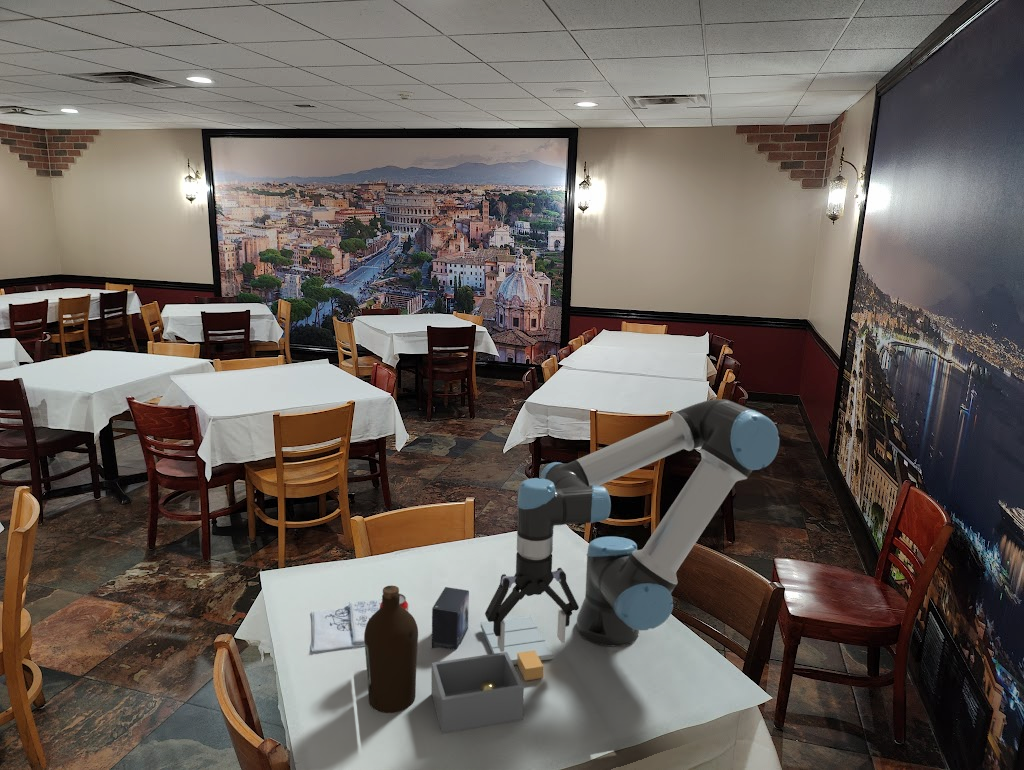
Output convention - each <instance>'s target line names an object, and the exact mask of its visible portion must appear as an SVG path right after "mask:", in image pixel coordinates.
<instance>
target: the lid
mask: <svg viewBox="0 0 1024 770" xmlns="http://www.w3.org/2000/svg"><path fill="white" fill-rule="evenodd" d="M503 621H504V623H505V640H504V651H503V652H507V653H508V655H509V657H510V659H511V661H512V663H513V665H517V667H518V668H519V671H520V673H521V675H522V677H523V679H524V681H525V682H526V681H532V680H537V679H538V680H539V679H544V664H543V663H542V661H548V660H552V659H553V657H554V656H553V655H554V654H553V652H552V650H551V649H550V647H549V644H548V643H547V642H546V639H545V638H544V636H543V635H542V633H541V631H540V629H539V627H538V626H537V625H536V622H535V621H534V619H533V617H532V616H531V615H525V616H517V617H509V618H504V619H503ZM493 627H494V622H493V621H492V622H489V621H488V620H487V621H481V622H480V629H481V631H482V633H483V635H484V638H485V640H486V643H487V644H488V647H489V650H490V652H491V654H496V653H502V652H501V651H500V649H499V647H498V645H497V644H498V636H496V635H495V633H494V631H493V629H494V628H493Z"/></svg>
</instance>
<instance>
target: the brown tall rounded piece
mask: <svg viewBox="0 0 1024 770" xmlns="http://www.w3.org/2000/svg"><path fill="white" fill-rule="evenodd" d="M399 594H400V589H399V587H398V586H397V585H387V586H385V587H383V588H382V595H381V599H382V604H383V606H382V607H381V608H380V609H379V610H378V611H377V612H376V613H375V614H374V615H373V616H372V617H371V618H370V619H369V621H368V623H367V625H366V629H365V633H364V642H365V647H364V654H365V664H366V666H365V667H366V677H367V678H366V679H367V680H366V681H367V694H368V704H369V706H370V707H371V708H372V709H373V710H375V711H377V712H379V713H385V714H394V713H400V712H402V711H404V710H406V709H408V708H409V707H411V706H412V705H413V704H414V702H415V700H416V690H417V688H416V686H417V685H416V684H417V665H418V664H417V661H418V660H417V659H418V644H419V643H418V641H419V629H418V624H417V622H416V620H415V617H414V616H413V615H412V614H411V613H410V612H409V610H408V611H406V610H405V609H404V608H403V607H401V606H400V605H399V601H400V595H399Z"/></svg>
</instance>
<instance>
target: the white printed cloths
mask: <svg viewBox="0 0 1024 770" xmlns="http://www.w3.org/2000/svg"><path fill="white" fill-rule="evenodd" d="M381 602H382V598H380V599H374V600H362V601H351V602H350V601H349V602H348V605H346V606H344V608H337V609H335V608H334V609H329V610H328V609H327V610H317V611H311V613H310V615H311V628H312V629H311V630H312V631H311V633H312V634H311V636H312V637H311V638H312V643H311V644H310V650H309V652H310V653H311V652H312V655H313V654H319V653H326V652H332V651H340V650H348V649H356V648H365V642H364V633H365V629H366V625H367V623H368V621H369V619H370V618H371V617H372V616H373V615H374V614H375V613H376V612H377V611H378V610H379V609H380V604H381ZM348 623H350V625H351V630H350V629H348V628H347V627H346V626H347V624H348Z"/></svg>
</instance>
